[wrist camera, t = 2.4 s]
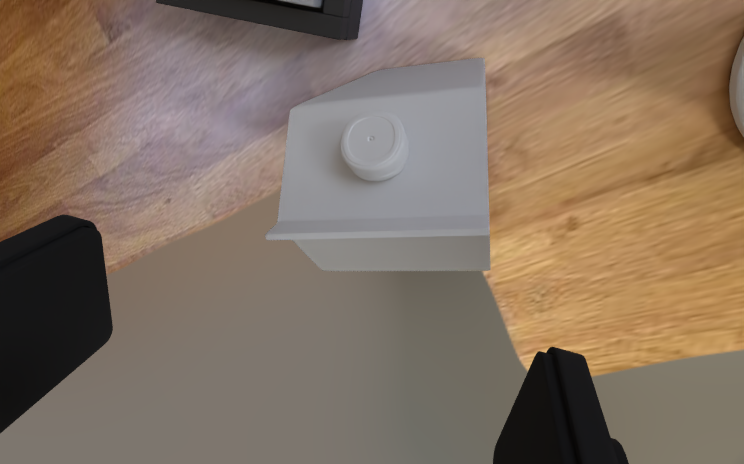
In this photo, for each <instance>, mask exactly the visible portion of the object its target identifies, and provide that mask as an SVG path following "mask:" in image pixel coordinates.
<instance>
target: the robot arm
mask: <svg viewBox="0 0 744 464" xmlns="http://www.w3.org/2000/svg"><path fill="white" fill-rule="evenodd" d="M729 94H730V108H731V111H732V114H733V117H734V120H735V123H736V126H737V128H738V129H739V131H740V132H741V134H742V135H743V137H744V37H743V39H742V41H741V43H740V45H739V48H738V51H737V54H736V57H735V59H734V62H733V65H732V71H731V78H730V84H729ZM106 278H107V277H106V269H105V261H104V253H103V245H102V237H101V234H100V233H99V231H97V228H96V226H95V225H94V223H92V222H90V221H88V220H84V219H80V218H77V217H73V216H69V215H60V216H57V217H54V218H52V219H50V220H48V221H46V222H43V223H41V224H39V225H37V226H35V227H32V228H30V229H28V230H26V231H24V232H21V233H19V234H17V235H15V236H13V237H10V238H8V239H6V240H4V241H2V242H0V433H1V432H2V431H4V430H5V429H6V428H7V427H8V426H9V425H10V424H12V423H13V422H14V421H15V420H16V419H18V418H19V417H20V416H21V415H22V414H24V413H25V412H26V411H27V410H28V409H29V408H30V407H32V406H33V405H34V404H35V403H36V402H37V401H39V400H40V399H41V398H42V397H43V396H45V395H46V394H47V393H48V392H49V391H50V390H52V389H53V388H54V387H55V386H56V385H58V384H59V383H60V382H61V381H62V380H63V379H65V378H66V377H67V376H68V375H69V374H70V373H72V372H73V371H74V370H75V369H76V368H77V367H79V366H80V365H81V364H82V363H83V362H85V361H86V360H87V359H88V358H89V357H90V356H92V355H93V354H94V353H95V352H96V351H97V350H99V349H100V348H101V347H102V346H103V345H104V344H105V343H106V342H107V341H108V340H109V338H110V336H111V334H112V330H113V329H112V328H113V326H112V318H111V310H110V302H109V294H108V285H107V279H106ZM493 464H629V463H628V460H627V457H626V454H625V452H624V450H623V447H622V445H621V444H620V443H619V442H618V441H617V440H616V439H612V438H610V435H609V432H608V428H607V425H606V422H605V419H604V416H603V413H602V410H601V407H600V403H599V400H598V397H597V394H596V391H595V387H594V384H593V381H592V378H591V375H590V372H589V369H588V365H587V362H586V360H585V358H584V356H583V355H581V354H577V353H573V352H570V351H566V350H562V349H559V348H555V347H550V348H549V349H548V351H547V352H546V353H544V352H540V351H539V352H538V353H537V354H536V356H535V357H534V360H533V362H532V364H531V366H530V369H529V371H528V373H527V376H526V378H525V380H524V382H523V385H522V387H521V389H520V391H519V394H518V396H517V398H516V400H515V403H514V405H513V407H512V410H511V412H510V414H509V416H508V418H507V421H506V423H505V425H504V427H503V430H502V432H501V435H500V437H499V439H498V441H497V444H496V446H495V451H494V458H493Z"/></svg>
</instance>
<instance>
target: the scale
mask: <svg viewBox="0 0 744 464" xmlns="http://www.w3.org/2000/svg"><path fill="white" fill-rule="evenodd" d="M156 2H157V3H160V4H165V5H170V6H175V7H180V8H185V9H190V10H195V11H199V12H204V13H209V14H214V15H219V16H224V17H229V18H234V19H239V20H244V21H249V22H254V23H259V24H264V25H269V26H274V27H279V28H283V29H288V30H293V31H298V32H303V33H308V34H313V35H318V36H323V37H328V38H333V39H338V40H341V39H344V40H351V39H357V38H358V32H359V24H360V17H361V10H362V3H363V0H323V7H322V8H317V7H310V6H305V5H300V4H294V3H289V2H284V1H279V0H156Z"/></svg>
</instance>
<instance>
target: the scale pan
mask: <svg viewBox="0 0 744 464" xmlns="http://www.w3.org/2000/svg"><path fill="white" fill-rule="evenodd" d="M279 1H284V2H289V3H294V4H300V5H305V6H310V7H317V8H322V7H323V0H279Z"/></svg>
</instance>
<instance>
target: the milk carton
mask: <svg viewBox="0 0 744 464" xmlns="http://www.w3.org/2000/svg"><path fill="white" fill-rule="evenodd" d="M277 222H278V223H277V224H276V225H275V226H273V227H272V228H271V230H269V231H268V232H267V233H266V234H265V238H266V240H292V241H294V243H295V244H297V245H298V247H299V248H301V250H302V251H303V252H304V253H305V254H306V255H307V256H308V257H309V258H310V259H311V260H312V261H313V262H314V263H315V264H316V265H317V266H318V267H319V268H320V269H321V270H322V271H486V270H490V231H489V193H488V155H487V116H486V80H485V59H484V58H472V59H464V60H456V61H448V62H439V63H431V64H423V65H415V66H407V67H398V68H390V69H383V70H377V71H375V72H372V73H370V74H368V75H365V76H363V77H361V78H358V79H356V80H354V81H351V82H349V83H347V84H345V85H342V86H340V87H338V88H335V89H333V90H331V91H328V92H326V93H324V94H321V95H319V96H317V97H314V98H312V99H310V100H307V101H305V102H303V103H301V104H299V105H297V106H295V107H294V108H292V109H291V110H290V116H289V124H288V133H287V142H286V151H285V160H284V168H283V177H282V186H281V195H280V204H279V213H278V221H277Z"/></svg>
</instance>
